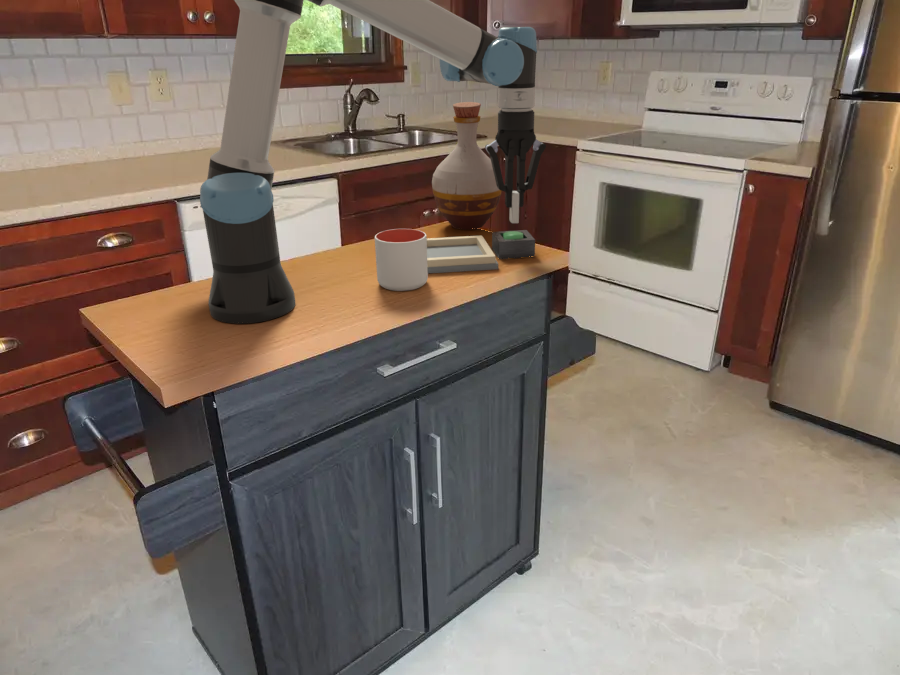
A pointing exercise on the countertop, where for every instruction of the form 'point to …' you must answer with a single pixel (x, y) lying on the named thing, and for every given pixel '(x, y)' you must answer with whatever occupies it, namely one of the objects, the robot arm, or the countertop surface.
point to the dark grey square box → (513, 245)
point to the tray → (459, 254)
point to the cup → (401, 259)
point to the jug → (466, 175)
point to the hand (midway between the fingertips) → (513, 221)
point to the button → (513, 235)
